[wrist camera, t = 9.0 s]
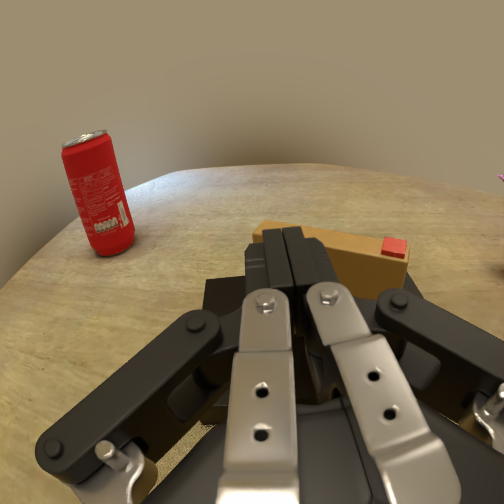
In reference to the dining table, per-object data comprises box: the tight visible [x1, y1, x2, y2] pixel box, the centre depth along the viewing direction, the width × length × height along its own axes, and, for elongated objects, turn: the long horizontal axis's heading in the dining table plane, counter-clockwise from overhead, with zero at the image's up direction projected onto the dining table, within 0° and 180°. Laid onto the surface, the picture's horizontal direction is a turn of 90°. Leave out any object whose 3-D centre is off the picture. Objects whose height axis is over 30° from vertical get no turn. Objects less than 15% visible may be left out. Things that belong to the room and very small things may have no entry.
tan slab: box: [252, 220, 410, 334], centre depth 15 cm, size 7×1×6 cm, turn 62°
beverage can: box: [61, 130, 135, 256], centre depth 28 cm, size 5×5×12 cm
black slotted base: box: [200, 271, 440, 424], centre depth 17 cm, size 14×12×2 cm
